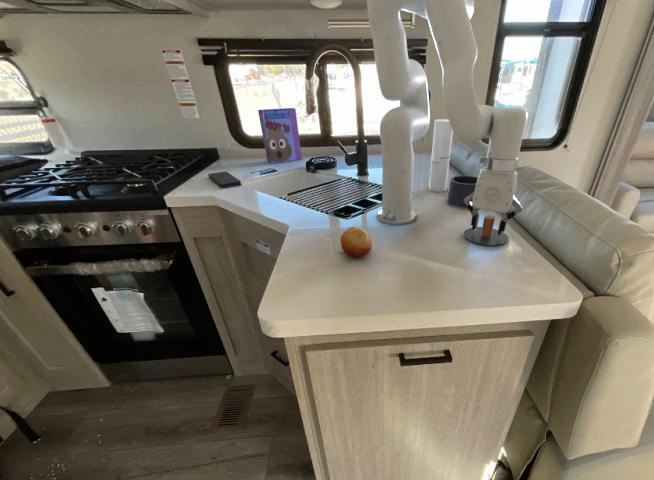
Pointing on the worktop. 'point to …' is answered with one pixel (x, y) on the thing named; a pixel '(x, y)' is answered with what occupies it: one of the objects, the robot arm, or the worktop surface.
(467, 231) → the lid
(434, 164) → the white tall block
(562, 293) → the worktop surface
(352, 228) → the fruit
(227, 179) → the smart home device
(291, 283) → the worktop surface
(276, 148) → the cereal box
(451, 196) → the pot
